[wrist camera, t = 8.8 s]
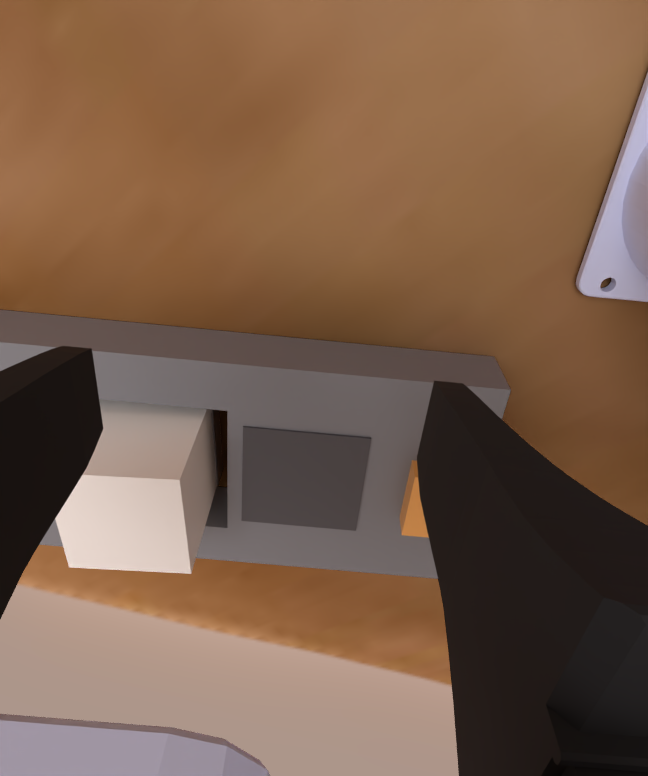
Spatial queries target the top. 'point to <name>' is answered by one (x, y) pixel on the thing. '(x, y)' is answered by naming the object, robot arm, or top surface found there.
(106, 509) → the plug
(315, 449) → the grey slotted holder
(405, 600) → the top surface
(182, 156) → the top surface
